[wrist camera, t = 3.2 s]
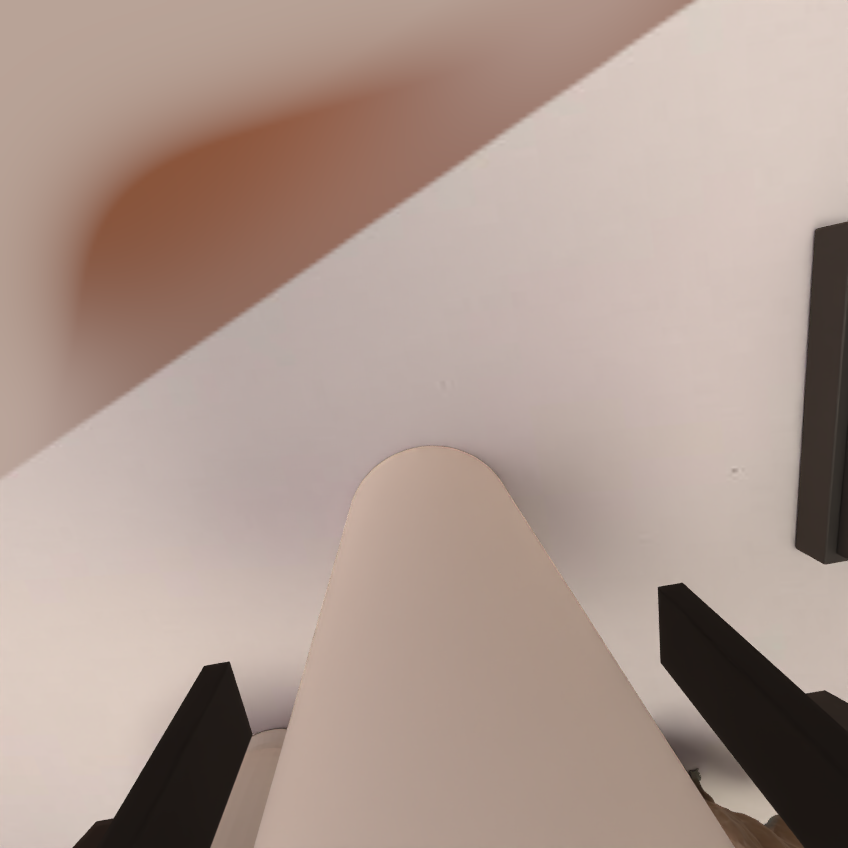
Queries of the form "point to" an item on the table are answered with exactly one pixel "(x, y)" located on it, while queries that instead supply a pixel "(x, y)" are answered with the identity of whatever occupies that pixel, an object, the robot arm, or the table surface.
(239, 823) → the teacup
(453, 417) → the table surface
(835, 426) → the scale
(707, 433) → the table surface
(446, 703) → the cup
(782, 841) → the rhinoceros figurine
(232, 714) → the robot arm
